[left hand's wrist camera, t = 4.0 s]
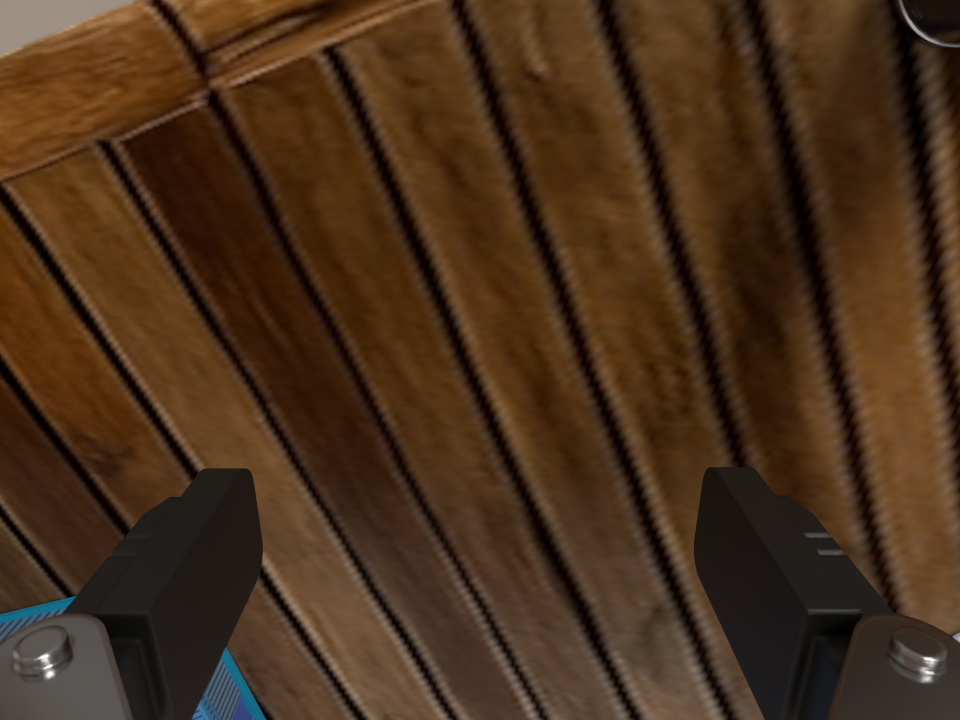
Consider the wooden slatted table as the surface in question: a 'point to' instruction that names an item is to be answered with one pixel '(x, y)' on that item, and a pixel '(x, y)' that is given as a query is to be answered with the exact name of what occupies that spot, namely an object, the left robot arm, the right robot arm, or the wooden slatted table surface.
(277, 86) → the wooden slatted table surface
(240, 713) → the model building
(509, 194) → the wooden slatted table surface
